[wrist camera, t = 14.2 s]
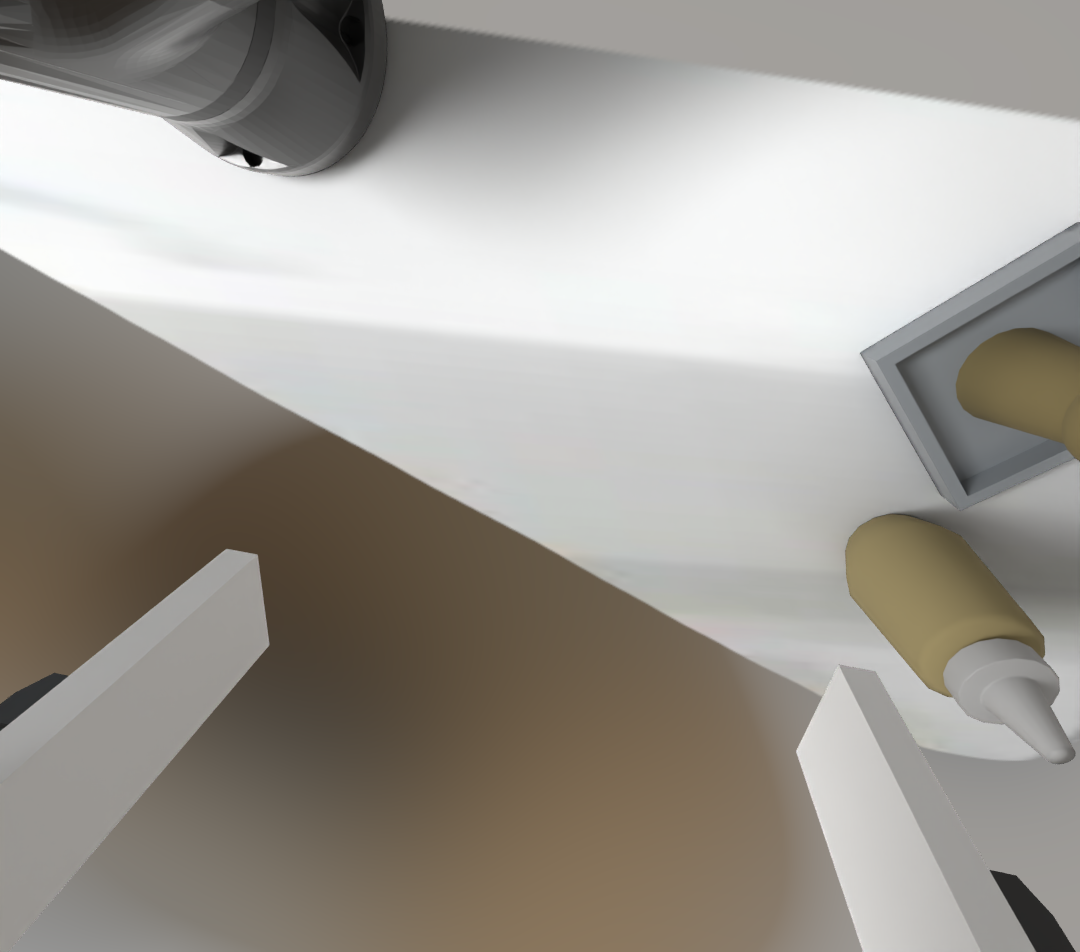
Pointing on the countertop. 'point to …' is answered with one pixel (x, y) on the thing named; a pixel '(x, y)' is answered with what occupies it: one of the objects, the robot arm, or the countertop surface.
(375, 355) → the countertop surface
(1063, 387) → the cork
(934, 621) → the squeeze bottle
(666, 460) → the countertop surface
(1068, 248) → the tray
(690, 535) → the countertop surface
